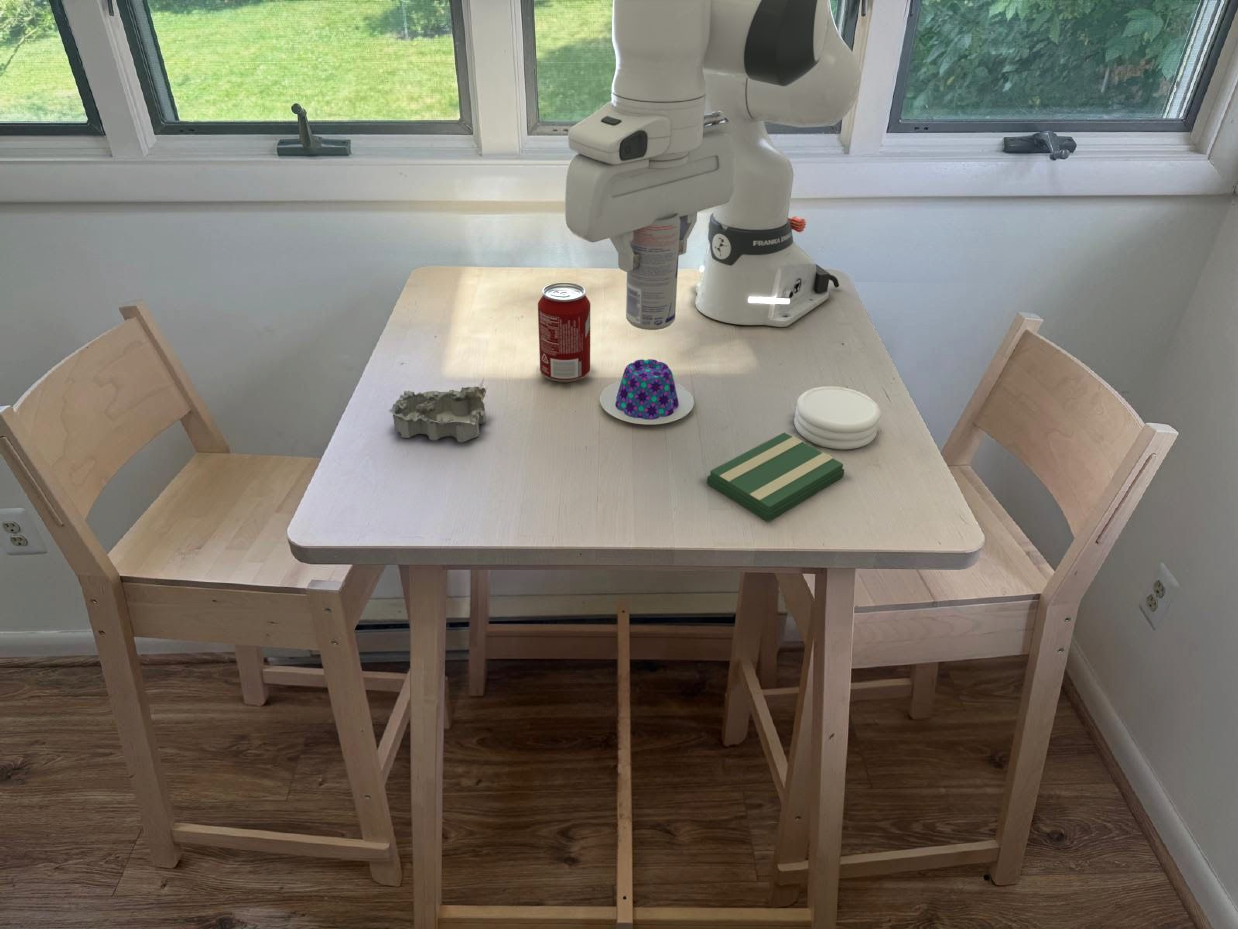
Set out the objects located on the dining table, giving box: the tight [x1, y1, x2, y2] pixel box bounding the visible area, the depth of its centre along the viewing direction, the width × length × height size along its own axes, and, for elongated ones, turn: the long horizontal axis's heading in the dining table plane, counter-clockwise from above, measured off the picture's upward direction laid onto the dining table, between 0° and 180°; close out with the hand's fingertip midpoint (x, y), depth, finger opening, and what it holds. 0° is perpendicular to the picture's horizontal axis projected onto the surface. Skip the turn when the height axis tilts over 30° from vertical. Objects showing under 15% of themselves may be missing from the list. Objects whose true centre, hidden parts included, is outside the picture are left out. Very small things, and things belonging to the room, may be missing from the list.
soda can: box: [537, 281, 591, 384], centre depth 114 cm, size 7×7×12 cm
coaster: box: [793, 385, 882, 450], centre depth 106 cm, size 10×10×4 cm
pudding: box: [599, 358, 695, 425], centre depth 110 cm, size 12×12×5 cm
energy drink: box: [625, 213, 680, 331], centre depth 92 cm, size 5×5×12 cm
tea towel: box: [706, 432, 845, 522], centre depth 97 cm, size 13×9×2 cm
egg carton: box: [388, 386, 487, 443], centre depth 105 cm, size 11×8×4 cm
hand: (652, 261), depth 91 cm, fingers closed on energy drink, 5 cm apart
